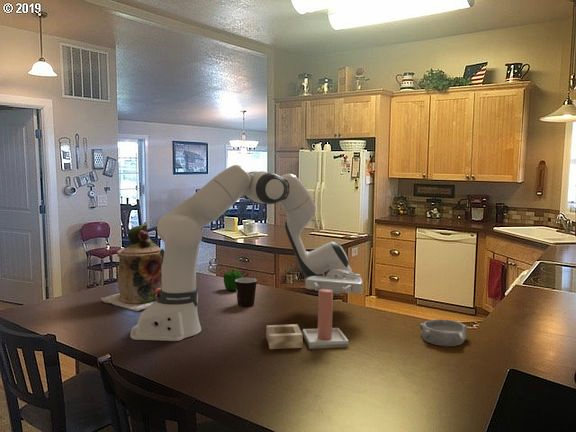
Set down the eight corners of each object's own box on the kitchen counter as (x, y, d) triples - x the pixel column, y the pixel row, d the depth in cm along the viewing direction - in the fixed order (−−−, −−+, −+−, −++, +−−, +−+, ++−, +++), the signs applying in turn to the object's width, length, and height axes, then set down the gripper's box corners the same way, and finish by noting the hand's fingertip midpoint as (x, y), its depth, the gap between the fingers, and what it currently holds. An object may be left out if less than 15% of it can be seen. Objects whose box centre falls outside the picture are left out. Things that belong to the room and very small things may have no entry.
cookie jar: (97, 302, 189) (95, 223, 186) (146, 289, 210) (144, 218, 207) (139, 312, 176) (138, 227, 173) (186, 298, 197) (186, 222, 194)
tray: (309, 348, 142) (309, 342, 142) (302, 335, 154) (302, 329, 154) (348, 347, 144) (348, 340, 144) (338, 333, 156) (338, 327, 155)
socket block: (269, 349, 141) (269, 336, 141) (266, 337, 151) (266, 325, 151) (302, 347, 143) (302, 334, 142) (297, 336, 153) (297, 324, 152)
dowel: (319, 340, 146) (320, 293, 145) (316, 335, 151) (317, 289, 149) (333, 339, 147) (334, 292, 145) (330, 334, 151) (331, 289, 150)
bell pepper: (222, 288, 214) (222, 266, 213) (240, 287, 216) (240, 265, 215) (224, 292, 206) (224, 270, 205) (243, 291, 208) (243, 269, 207)
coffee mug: (253, 308, 183) (253, 283, 182) (232, 307, 184) (232, 282, 183) (261, 300, 194) (261, 276, 193) (240, 299, 196) (241, 275, 195)
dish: (466, 335, 156) (466, 321, 155) (467, 350, 143) (468, 334, 142) (420, 330, 160) (421, 316, 160) (417, 344, 147) (418, 329, 147)
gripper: (309, 270, 176) (301, 278, 162) (364, 274, 170) (360, 282, 157) (309, 287, 176) (300, 296, 163) (364, 291, 171) (360, 301, 158)
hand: (330, 289), depth 160 cm, fingers open, 8 cm apart
